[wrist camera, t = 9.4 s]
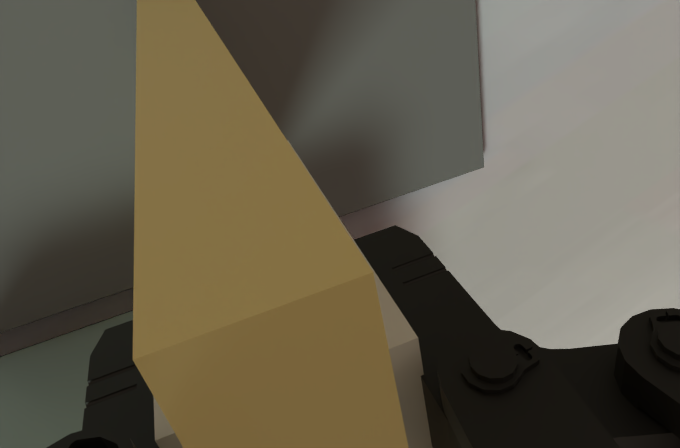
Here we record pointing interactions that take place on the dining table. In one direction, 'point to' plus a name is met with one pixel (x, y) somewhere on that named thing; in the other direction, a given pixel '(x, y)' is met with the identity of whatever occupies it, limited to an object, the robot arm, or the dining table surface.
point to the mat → (269, 84)
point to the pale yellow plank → (244, 264)
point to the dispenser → (48, 387)
